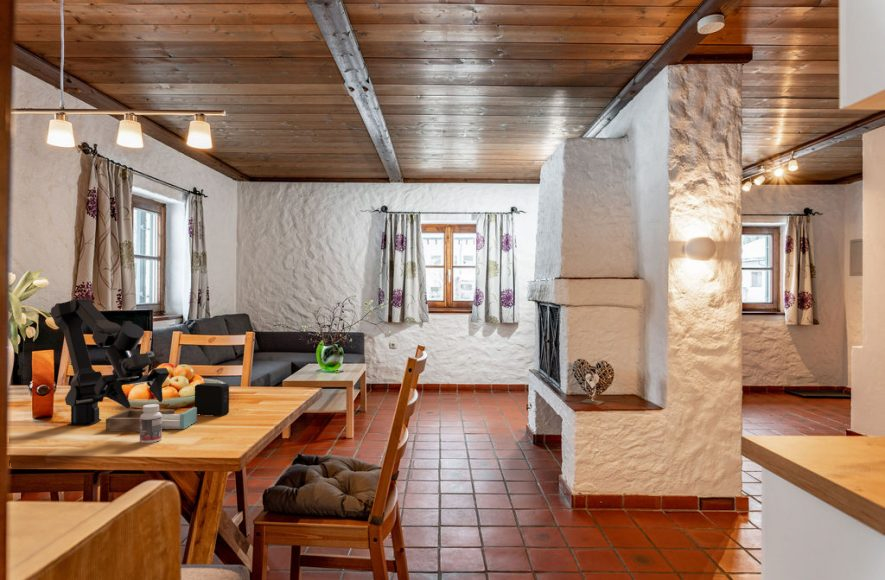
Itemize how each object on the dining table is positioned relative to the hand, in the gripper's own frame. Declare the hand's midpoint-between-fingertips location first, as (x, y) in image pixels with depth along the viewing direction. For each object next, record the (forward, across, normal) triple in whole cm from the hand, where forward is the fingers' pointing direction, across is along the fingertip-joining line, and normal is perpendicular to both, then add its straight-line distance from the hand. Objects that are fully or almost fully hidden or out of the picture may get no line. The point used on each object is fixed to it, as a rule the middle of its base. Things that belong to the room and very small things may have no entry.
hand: (145, 404), depth 151 cm
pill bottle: (+9, 0, +5) cm, 10 cm away
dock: (-4, +8, +17) cm, 19 cm away
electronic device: (0, +29, +14) cm, 32 cm away
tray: (+1, +12, +12) cm, 18 cm away
